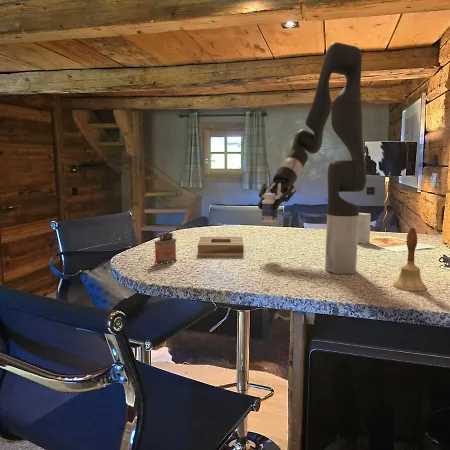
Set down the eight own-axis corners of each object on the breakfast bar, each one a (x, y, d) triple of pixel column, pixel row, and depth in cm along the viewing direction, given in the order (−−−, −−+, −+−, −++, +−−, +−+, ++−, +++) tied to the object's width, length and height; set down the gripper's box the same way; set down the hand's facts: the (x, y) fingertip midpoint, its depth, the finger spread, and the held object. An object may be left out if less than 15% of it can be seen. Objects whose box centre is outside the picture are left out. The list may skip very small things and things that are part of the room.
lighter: (172, 259, 145) (171, 230, 144) (178, 261, 143) (178, 231, 141) (152, 263, 140) (152, 233, 138) (158, 265, 137) (158, 234, 136)
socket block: (243, 256, 150) (243, 245, 149) (197, 256, 150) (197, 244, 149) (241, 247, 166) (242, 236, 165) (200, 246, 166) (200, 236, 165)
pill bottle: (276, 222, 146) (277, 194, 144) (261, 222, 147) (261, 194, 146) (278, 220, 151) (278, 193, 150) (262, 220, 152) (263, 193, 151)
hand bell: (393, 289, 112) (396, 229, 109) (392, 281, 119) (396, 224, 117) (427, 293, 109) (432, 231, 106) (425, 284, 117) (429, 226, 114)
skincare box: (369, 242, 175) (371, 213, 173) (365, 244, 172) (366, 214, 170) (355, 240, 179) (357, 212, 177) (351, 242, 176) (352, 213, 174)
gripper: (268, 165, 156) (245, 200, 150) (300, 165, 146) (278, 202, 140) (276, 179, 161) (255, 214, 154) (309, 180, 151) (287, 217, 144)
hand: (266, 208), depth 147 cm, fingers closed on pill bottle, 5 cm apart
